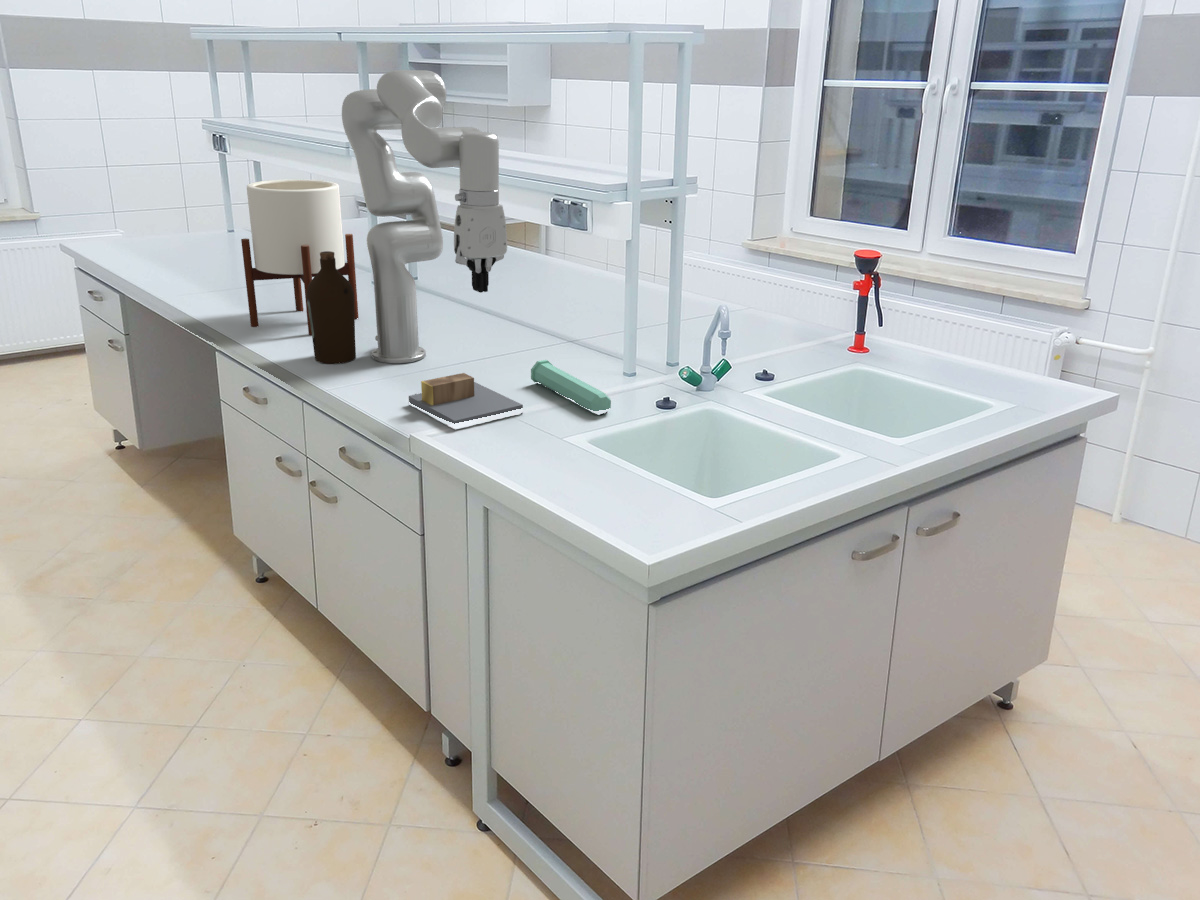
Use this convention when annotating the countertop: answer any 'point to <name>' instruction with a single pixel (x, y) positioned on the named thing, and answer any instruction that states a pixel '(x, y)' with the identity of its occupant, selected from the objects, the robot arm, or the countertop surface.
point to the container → (569, 386)
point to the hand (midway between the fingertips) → (480, 290)
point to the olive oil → (331, 313)
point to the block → (447, 388)
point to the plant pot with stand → (294, 236)
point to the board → (469, 405)
